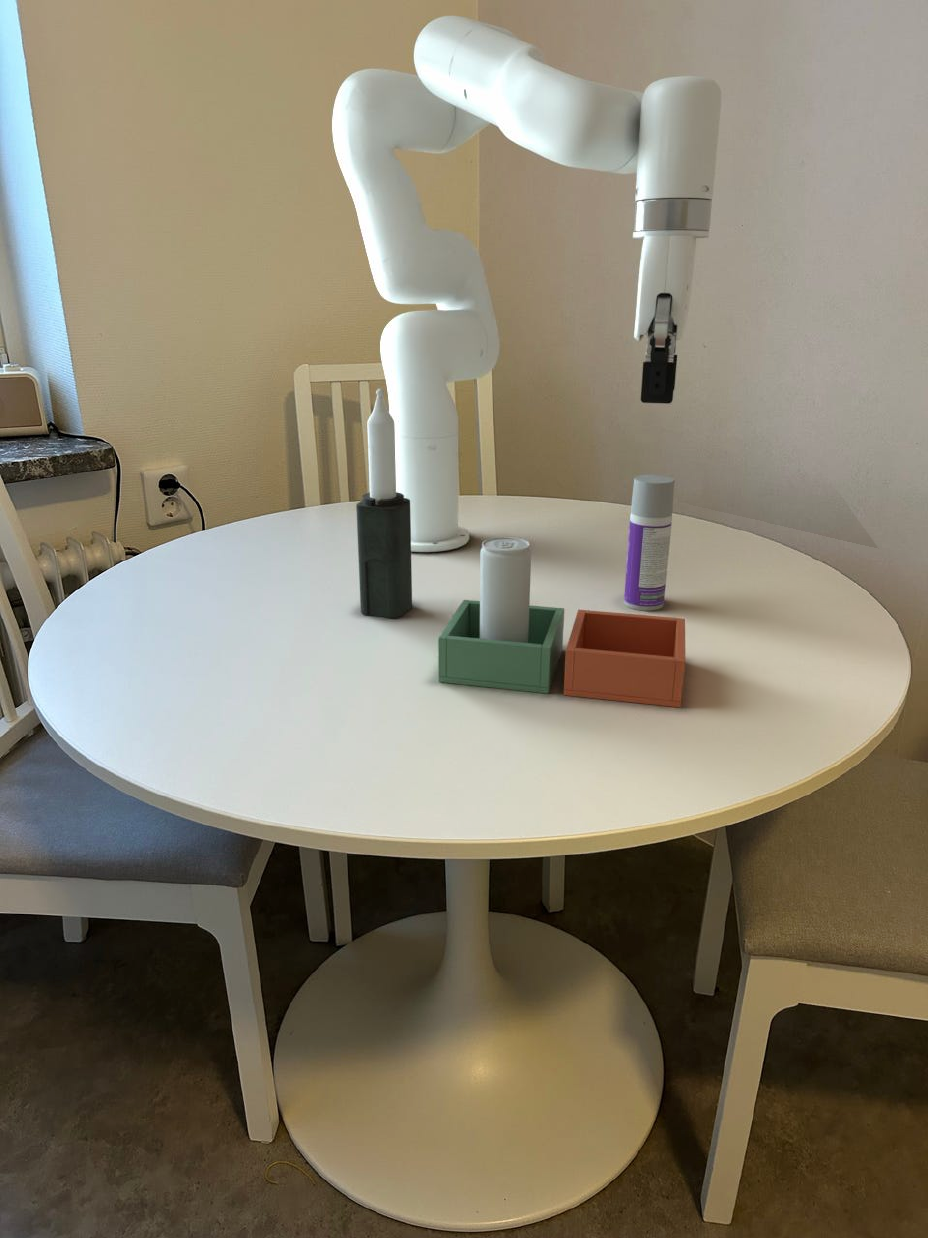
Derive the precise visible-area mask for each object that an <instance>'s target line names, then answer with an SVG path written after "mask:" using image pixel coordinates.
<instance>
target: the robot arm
mask: <svg viewBox="0 0 928 1238" xmlns="http://www.w3.org/2000/svg"><path fill="white" fill-rule="evenodd" d="M413 64H414V67H415V71H416V74H417V75H416V74H412V73H408V72H403V71H399V70H393V69H387V68H386V69H385V68H366V69H365V68H364V69H361V70H358V71H356V72H353V73H351V74H350V75H349V76H348V77H346V78H345V80H344V81H343V82H342V84H341V85H340V87H339V89H338V91H337V94H336V96H335V101H334V105H333V110H332V120H331V121H332V123H331V127H332V128H331V129H332V141H333V146H334V151H335V155H336V158H337V162H338V165H339V168H340V170H341V172H342V175H343V177H344V180H345V182H346V185H347V188H348V189H349V193H350V195H351V197H352V201H353V204H354V206H355V210H356V213H357V219H358V224H359V227H360V232H361V235H362V238H363V243H364V246H365V251H366V255H367V258H368V262H369V266H370V271H371V274H372V277H373V281H374V284H375V286H376V289H377V291H378V293H379V294H380V296H381V297H382V299H384V300H386V301H387V302H389V303H393V304H396V305H397V304H398V305H432V304H433V305H435V306H436V308H437V309H427V310H413V311H408V312H404V313H401V314H398V315H397V316H395V317H393V318H392V319H390V321H389V322H388V323H387V324H386V326H385V327H384V329H383V330H382V334H381V337H380V344H379V351H380V358H381V365H382V369H383V374H384V378H385V384H386V389H387V397H388V398H387V399H388V412H389V413H390V415H391V416H392V418H393V419H394V422H395V459H396V492H398V493H401V494H403V495H404V498H407V499H409V500H410V519H411V553H412V552H414V553H436V552H445V551H450V550H454V549H458V548H460V547H464V546H465V545H466V544H468V542H469V540H470V533H469V531H468V529H466V528H465V527H463V526H461V525H459V485H460V484H459V475H460V474H459V468H460V467H459V459H460V458H459V457H460V455H459V449H460V448H459V446H460V445H459V444H460V443H459V441H460V439H459V438H460V436H459V435H460V434H459V433H460V432H459V414H458V409H457V406H456V404H455V401H454V399H453V397H452V394H451V393H450V391H449V388H448V385H447V384H449V383H454V382H465V381H473V380H476V379H481V378H483V377H485V376H487V375H488V374H489V373H490V372H491V371H492V370H493V369H494V368H495V366H496V364H497V362H498V360H499V356H500V335H499V330H498V324H497V319H496V315H495V311H494V307H493V306H494V305H493V302H492V297H491V293H490V290H489V289H490V288H489V286H488V281H487V277H486V273H485V269H484V265H483V261H482V258H481V256H480V253H479V251H478V250H477V248H476V246H475V245H474V243H473V242H472V241H471V239H469V238H468V237H467V236H466V235H464V234H462V233H461V232H458V231H455V230H450V229H439V228H432V227H430V226H429V225H428V223H427V221H426V219H425V215H424V211H423V207H422V204H421V200H420V199H421V198H420V195H419V191H418V190H417V187H416V185H415V183H414V181H413V178H412V177H411V175H410V174H409V172H408V170H407V169H406V168H405V167H404V165H403V164H402V163H401V162H400V160H399V159H398V157H397V155H395V152H394V150H395V149H396V150H397V149H398V150H405V151H411V152H419V153H428V154H445V153H448V152H452V151H454V150H456V149H457V148H459V147H461V146H462V145H464V144H465V143H467V142H468V141H469V140H471V139H472V138H473V137H474V136H476V135H477V134H478V133H481V131H482V130H484V129H485V128H487V127H488V126H489V125H491V124H492V125H494V126H497V127H498V128H499V130H500V132H501V133H502V134H503V135H504V136H505V137H506V138H507V139H508V140H510V141H512V142H513V143H515V144H516V145H518V146H520V147H522V148H524V149H526V150H529V151H531V152H532V153H535V154H537V155H538V156H540V157H543V158H545V159H547V160H549V161H552V162H554V163H556V164H559V165H562V166H565V167H570V168H573V169H585V170H591V171H599V172H604V173H611V174H612V173H613V174H617V175H618V174H620V175H631V174H632V175H633V174H636V183H635V196H634V197H635V199H634V202H635V203H634V213H633V228H632V239H636V240H642V245H641V252H640V259H639V269H638V281H637V294H636V295H637V296H636V308H635V319H634V320H635V322H634V331H633V332H634V333H633V338H634V339H635V340H636V342H637V341H638V342H640V341H642V339H643V338H644V336H646V335H647V339H646V348H645V349H646V350H645V359H644V360H645V361H642V375H641V388H640V389H641V390H640V401H641V403H643V404H667V405H669V404H671V403H672V402H673V400H674V391H675V388H676V376H677V375H676V374H677V363H678V354H676V349H677V342H678V341H680V340H681V339H683V336H684V332H685V329H686V325H687V324H686V323H687V320H688V314H689V309H690V302H691V295H692V287H693V286H692V285H693V278H694V277H693V276H694V269H695V256H696V245H697V239H705V238H706V239H707V238H709V237H710V230H711V229H710V227H711V218H712V217H711V216H712V206H713V194H714V185H715V173H716V164H717V153H718V143H719V131H720V121H721V112H722V111H721V108H722V91H721V86H720V85H719V84H718V83H717V82H716V81H715V80H714V79H712V78H708V77H706V76H698V75H696V76H695V75H679V76H670V77H665V78H661V79H657V80H655V81H653V82H651V83H650V84H649V85H647V87H646V88H645V90H644V92H640V91H636V90H631V89H627V88H623V87H618V86H615V85H610V84H607V83H603V82H597V81H592V80H589V79H585V78H581V77H579V76H576V75H573V74H570V73H567V72H565V71H563V70H560V69H558V68H556V67H552V66H550V65H549V64H548V61H547V58H546V56H545V54H544V52H543V51H542V50H541V49H540V48H539V47H537V46H536V45H535V44H532V43H529V42H527V41H524V40H521V39H520V38H519V37H518V36H517V35H516V34H515V33H514V32H512V31H510V30H509V29H506V28H505V27H504V28H503V27H500V26H497V25H494V24H491V23H486V22H483V21H479V20H475V19H471V18H468V17H464V16H460V15H443V16H439V17H438V18H435V19H433V20H431V21H430V22H429V23H427V24H426V25H425V26H424V28H422V30H421V31H420V33H419V34H418V36H417V37H416V41H415V44H414V49H413Z"/></svg>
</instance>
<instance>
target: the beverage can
mask: <svg viewBox="0 0 928 1238" xmlns="http://www.w3.org/2000/svg"><path fill="white" fill-rule="evenodd" d="M530 543H531V542H529V541H528V540H526V539H524V538H521V537H513V536H496V537H490V538H487V539H485V540H483V541H482V542H481V546H482V547H481V549H480V555H479V557H480V559H479V560H480V561H479V562H480V563H479V564H480V567H479V568H480V569H479V577H480V578H479V589H480V590H479V601H480V639H488V640H499V641H509V642H520V643H528V631H529V605H531V603H530V602H531V599H530V598H531V572H532V570H531V569H532V550H531V548H530V547H531V544H530Z"/></svg>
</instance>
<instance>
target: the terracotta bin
mask: <svg viewBox="0 0 928 1238" xmlns="http://www.w3.org/2000/svg"><path fill="white" fill-rule="evenodd" d="M564 658H565V660H564V677H563V678H564V679H563V681H564V682H563V696H568V697H577V698H587V699H597V700H606V701H615V702H624V703H625V702H626V703H634V704H643V705H653V706H660V707H661V706H663V707H672V708H681V707H682V697H683V690H684V689H683V687H684V678H685V671H686V618H682V617H670V616H661V615H660V616H658V615H649V614H648V615H647V614H637V613H636V614H634V613H624V612H614V611H613V612H611V611H602V610H601V611H600V610H590V609H589V610H588V609H577V612H576V615H575V619H574V621H573V626H572V630H571V632H570V636H569V638H568V642H567V645H566V649H565V657H564Z"/></svg>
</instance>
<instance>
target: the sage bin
mask: <svg viewBox="0 0 928 1238" xmlns="http://www.w3.org/2000/svg"><path fill="white" fill-rule="evenodd" d="M564 625H565V608H564V607H555V606H554V607H553V606H541V605H531V604H529V631H528V643H520V642H509V641H499V640H488V639H480V600H473V599H472V600H470V599H463V600H462V601H461V603H460V605H459V606H458V608H457V609H456V611H455V612H454V614H453V615H452V617H451V618H450V620H449V621H448V623H447V624H446V626H444V629H443V630H442V631H441V633H440V635H439V636H438V638H437V639H438V640H437V648H438V649H437V652H438V654H437V658H438V659H437V661H438V665H437V666H438V671H437V672H438V681H437V682H438V683H446V684H455V685H464V686H473V687H484V688H492V689H503V690H511V691H512V690H513V691H522V692H529V693H539V694H540V693H541V694H549V693H550V690H551V687H552V683H553V680H554V677H555V673H556V671H557V668H558V664H559V662H560V658H561V655H562V652H563V648H564V647H563V646H564V645H563V644H564Z"/></svg>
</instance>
